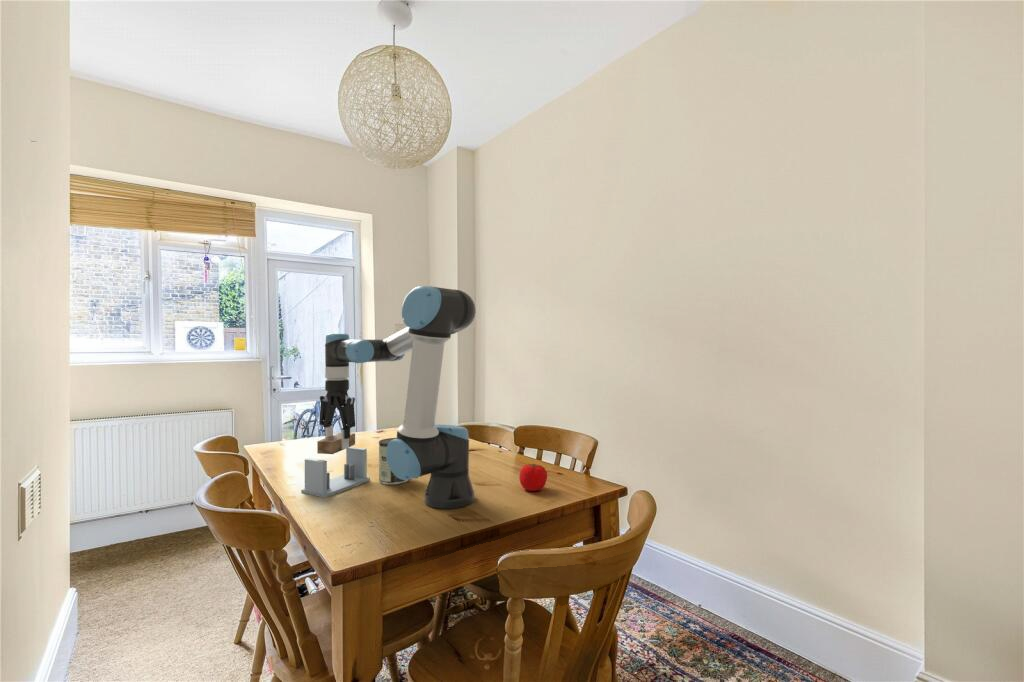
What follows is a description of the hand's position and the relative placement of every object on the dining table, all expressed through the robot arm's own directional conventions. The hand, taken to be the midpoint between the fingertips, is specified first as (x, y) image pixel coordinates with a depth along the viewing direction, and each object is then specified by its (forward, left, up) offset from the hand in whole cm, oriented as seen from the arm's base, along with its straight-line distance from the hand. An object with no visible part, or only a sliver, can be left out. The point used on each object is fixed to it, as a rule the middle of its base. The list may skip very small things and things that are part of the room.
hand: (337, 447), depth 156 cm
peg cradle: (0, 0, -13) cm, 13 cm away
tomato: (-61, -25, -14) cm, 68 cm away
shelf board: (0, 0, -1) cm, 1 cm away
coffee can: (-13, -13, -14) cm, 23 cm away
